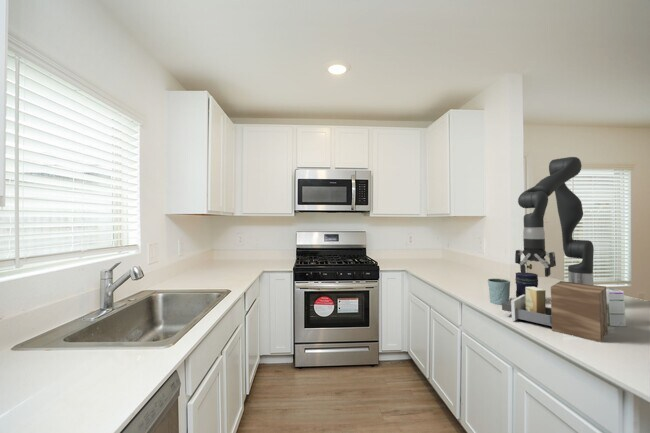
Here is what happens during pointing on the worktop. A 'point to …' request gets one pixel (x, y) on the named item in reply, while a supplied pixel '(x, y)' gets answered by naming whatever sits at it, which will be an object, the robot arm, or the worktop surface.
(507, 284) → the teal planter pot
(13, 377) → the worktop surface
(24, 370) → the worktop surface
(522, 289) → the storage jar
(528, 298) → the skincare box
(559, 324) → the wood grain block
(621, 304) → the syrup box
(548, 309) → the drawer
